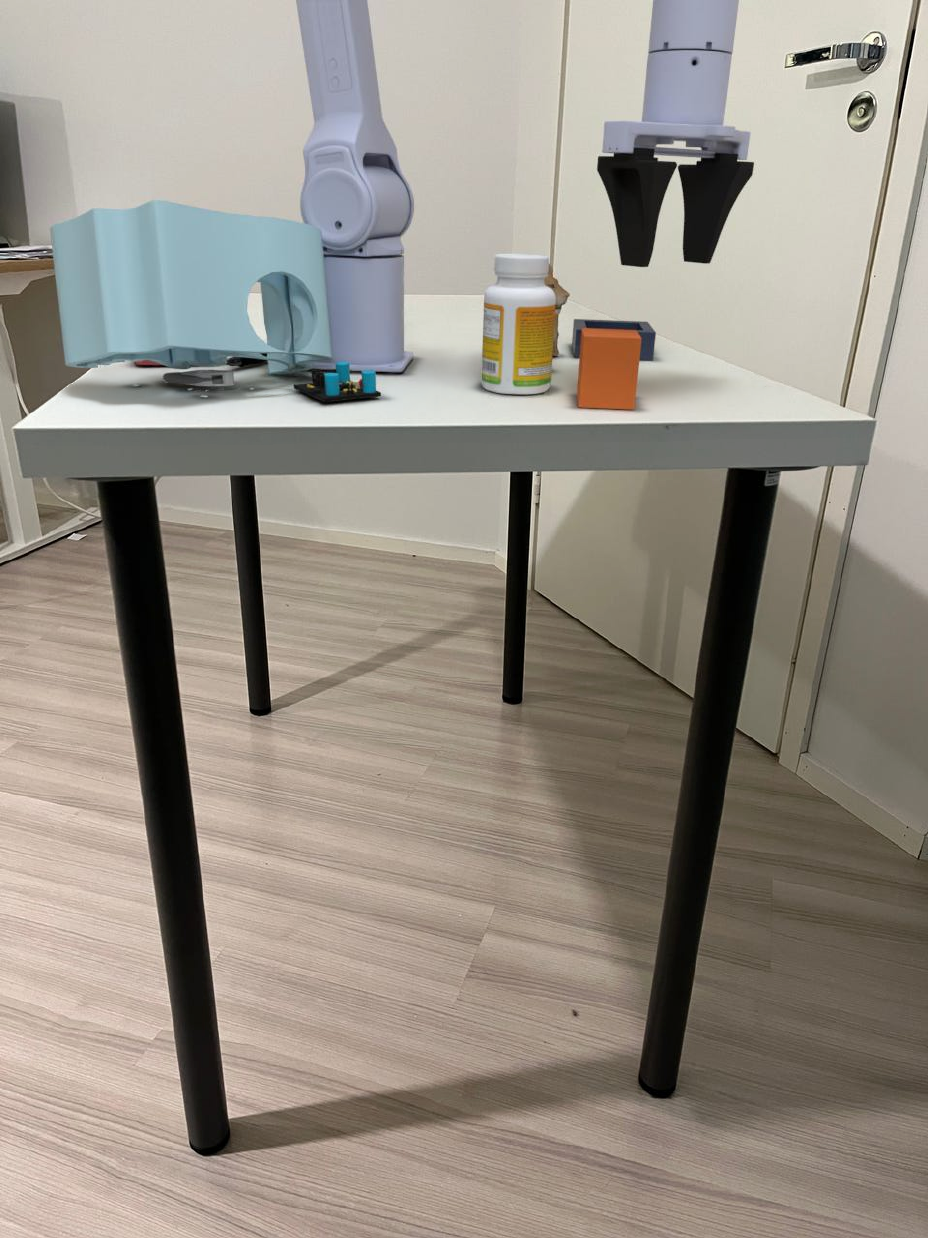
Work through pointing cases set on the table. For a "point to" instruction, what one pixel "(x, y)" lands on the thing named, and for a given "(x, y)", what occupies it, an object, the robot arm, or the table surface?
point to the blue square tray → (641, 327)
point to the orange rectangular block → (608, 368)
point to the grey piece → (201, 377)
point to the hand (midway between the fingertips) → (666, 264)
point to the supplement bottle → (518, 326)
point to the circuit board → (340, 385)
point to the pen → (245, 361)
